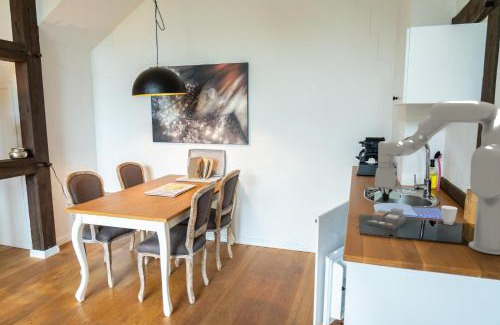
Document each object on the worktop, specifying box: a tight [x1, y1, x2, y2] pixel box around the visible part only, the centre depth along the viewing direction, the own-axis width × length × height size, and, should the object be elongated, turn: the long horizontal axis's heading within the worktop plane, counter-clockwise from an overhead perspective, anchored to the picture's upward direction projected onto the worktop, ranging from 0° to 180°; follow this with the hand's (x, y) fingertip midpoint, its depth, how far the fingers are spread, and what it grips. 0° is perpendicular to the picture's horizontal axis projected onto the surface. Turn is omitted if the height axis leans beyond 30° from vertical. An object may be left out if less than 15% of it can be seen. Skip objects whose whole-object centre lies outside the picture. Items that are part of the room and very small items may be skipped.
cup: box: [440, 205, 458, 226], centre depth 160 cm, size 7×10×8 cm
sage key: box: [377, 209, 391, 215], centre depth 165 cm, size 5×5×3 cm
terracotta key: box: [372, 211, 386, 217], centre depth 160 cm, size 5×5×3 cm
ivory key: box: [386, 214, 399, 219], centre depth 156 cm, size 5×5×3 cm
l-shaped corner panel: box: [373, 190, 401, 202], centre depth 199 cm, size 12×12×8 cm
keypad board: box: [366, 211, 406, 231], centre depth 159 cm, size 13×17×4 cm
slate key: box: [390, 207, 404, 217], centre depth 160 cm, size 5×5×3 cm
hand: (385, 201), depth 163 cm, fingers closed
